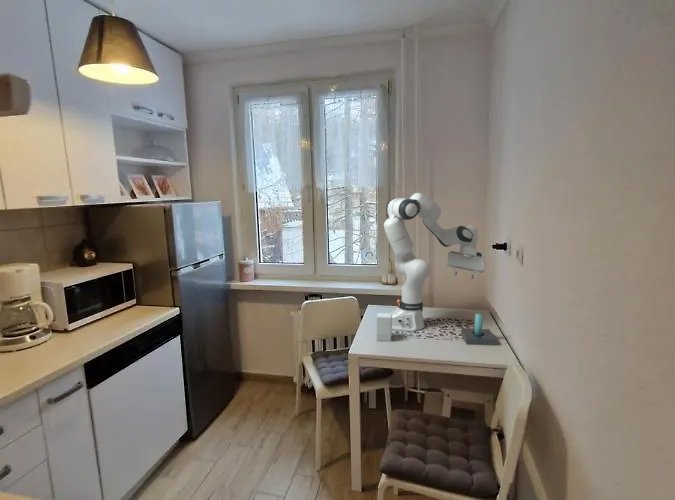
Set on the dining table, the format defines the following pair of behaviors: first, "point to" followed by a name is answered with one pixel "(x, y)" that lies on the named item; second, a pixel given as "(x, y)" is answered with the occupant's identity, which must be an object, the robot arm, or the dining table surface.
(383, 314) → the supplement box
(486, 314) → the dining table surface
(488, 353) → the dining table surface
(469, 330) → the socket block
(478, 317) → the peg
